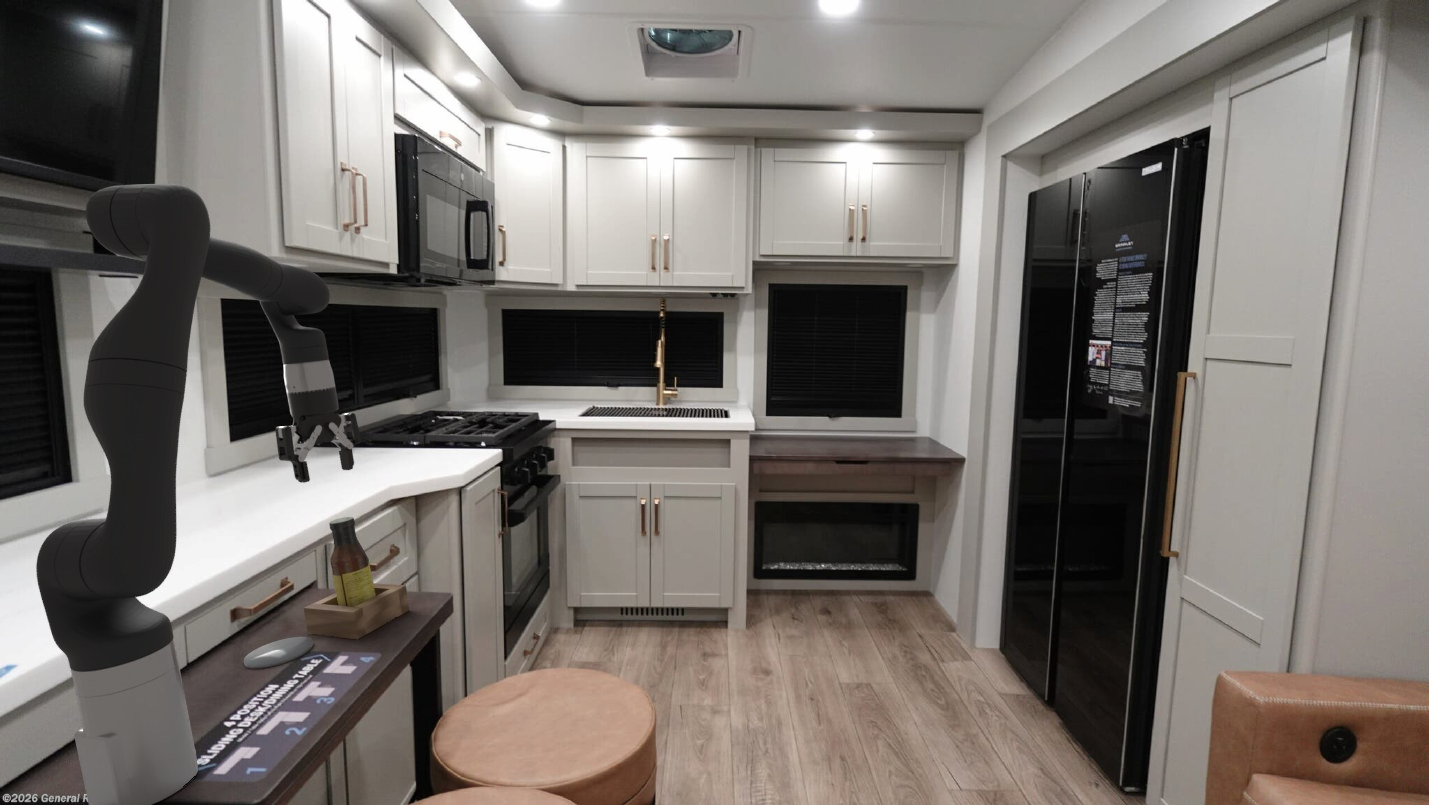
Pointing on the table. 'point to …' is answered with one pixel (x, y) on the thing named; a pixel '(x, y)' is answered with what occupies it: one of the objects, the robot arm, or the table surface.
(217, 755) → the table surface
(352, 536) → the sauce bottle
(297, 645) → the slate coaster
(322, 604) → the walnut holder
